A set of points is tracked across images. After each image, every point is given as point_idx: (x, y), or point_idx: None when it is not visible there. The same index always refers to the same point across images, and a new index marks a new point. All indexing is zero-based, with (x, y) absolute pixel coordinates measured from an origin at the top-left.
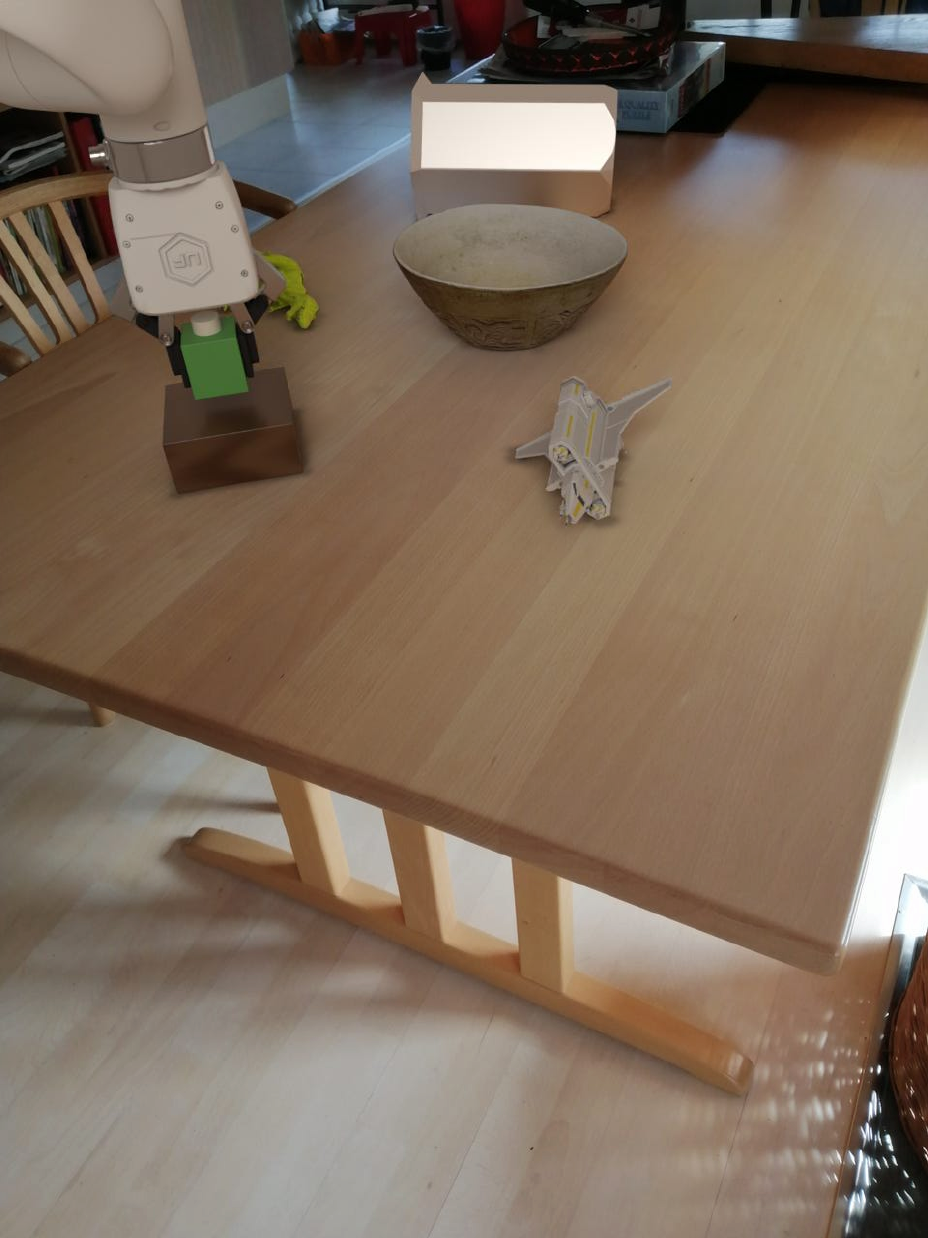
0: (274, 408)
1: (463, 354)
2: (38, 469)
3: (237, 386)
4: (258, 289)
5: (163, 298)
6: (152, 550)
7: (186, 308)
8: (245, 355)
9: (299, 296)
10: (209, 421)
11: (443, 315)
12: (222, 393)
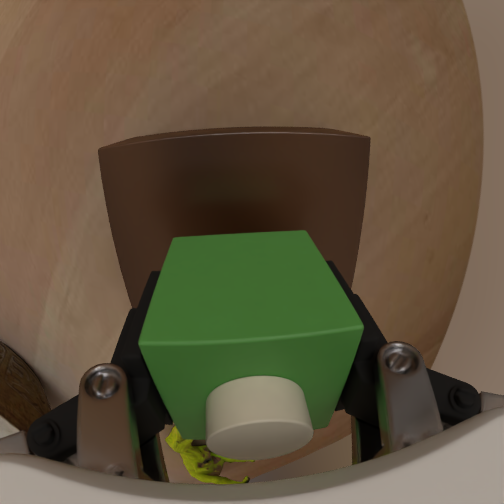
0: (137, 217)
1: (23, 348)
2: (455, 248)
3: (194, 242)
4: (223, 460)
5: (487, 497)
6: (356, 14)
7: (367, 486)
8: (147, 308)
9: (181, 451)
10: (276, 199)
11: (11, 379)
12: (237, 235)
